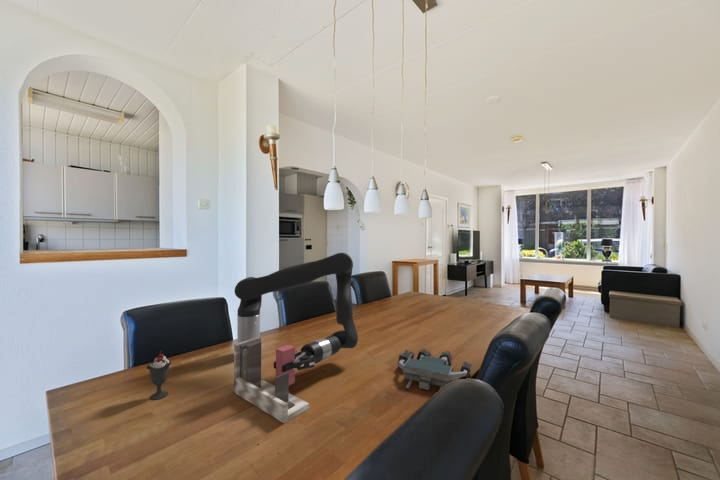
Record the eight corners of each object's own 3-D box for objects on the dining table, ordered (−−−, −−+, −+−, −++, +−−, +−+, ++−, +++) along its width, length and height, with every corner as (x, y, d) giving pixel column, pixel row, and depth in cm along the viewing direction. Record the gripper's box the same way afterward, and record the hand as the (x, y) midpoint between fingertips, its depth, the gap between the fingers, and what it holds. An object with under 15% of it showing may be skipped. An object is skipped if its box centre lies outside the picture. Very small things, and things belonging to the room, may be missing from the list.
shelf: (233, 392, 98) (234, 342, 98) (258, 381, 105) (258, 335, 105) (284, 423, 82) (284, 364, 82) (308, 408, 90) (309, 354, 89)
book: (275, 385, 97) (275, 348, 97) (288, 379, 101) (288, 344, 101) (282, 388, 95) (282, 351, 95) (295, 382, 99) (295, 346, 99)
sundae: (159, 402, 92) (159, 354, 91) (141, 399, 93) (141, 352, 93) (176, 391, 98) (176, 346, 98) (159, 389, 99) (159, 344, 99)
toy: (472, 355, 121) (471, 376, 94) (471, 376, 121) (469, 404, 93) (407, 342, 132) (388, 358, 104) (405, 362, 131) (385, 384, 103)
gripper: (303, 337, 114) (265, 350, 100) (330, 345, 105) (292, 361, 92) (303, 356, 114) (264, 372, 100) (330, 366, 105) (292, 385, 92)
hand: (278, 367), depth 96 cm, fingers closed on book, 3 cm apart
